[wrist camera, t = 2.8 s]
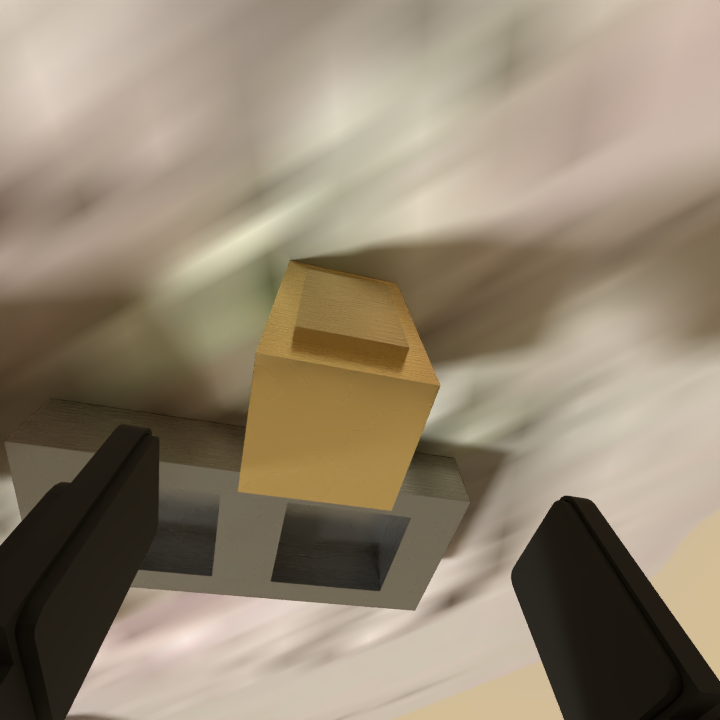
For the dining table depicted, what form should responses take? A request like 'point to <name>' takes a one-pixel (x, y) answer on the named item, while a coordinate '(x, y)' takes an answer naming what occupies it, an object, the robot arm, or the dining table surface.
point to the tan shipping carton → (336, 392)
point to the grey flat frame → (251, 514)
